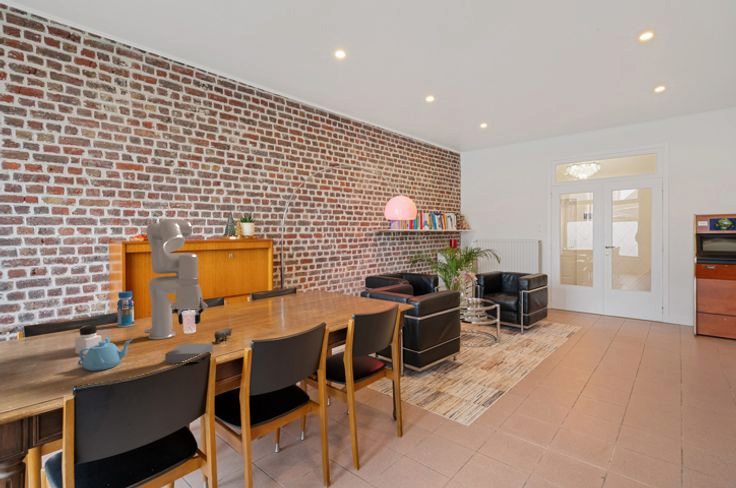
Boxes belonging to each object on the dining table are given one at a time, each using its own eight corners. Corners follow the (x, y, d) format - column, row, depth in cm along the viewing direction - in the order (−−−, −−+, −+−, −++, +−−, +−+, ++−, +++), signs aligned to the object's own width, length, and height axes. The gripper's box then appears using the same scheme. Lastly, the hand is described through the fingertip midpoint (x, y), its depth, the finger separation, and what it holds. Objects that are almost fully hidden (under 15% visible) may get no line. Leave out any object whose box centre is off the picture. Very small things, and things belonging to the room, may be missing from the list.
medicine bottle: (102, 350, 169) (101, 325, 169) (86, 355, 162) (85, 328, 162) (91, 349, 171) (90, 323, 171) (75, 353, 165) (74, 327, 164)
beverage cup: (178, 333, 157) (177, 300, 157) (190, 329, 163) (189, 298, 162) (189, 334, 155) (188, 301, 154) (200, 331, 160) (200, 299, 160)
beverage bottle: (113, 327, 212) (112, 293, 211) (125, 323, 220) (124, 290, 220) (126, 327, 211) (125, 293, 210) (137, 324, 219) (137, 291, 218)
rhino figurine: (235, 336, 191) (235, 325, 191) (219, 344, 178) (219, 332, 178) (229, 336, 192) (228, 324, 192) (212, 343, 179) (211, 331, 179)
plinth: (165, 363, 152) (165, 353, 152) (181, 352, 166) (181, 343, 166) (199, 362, 152) (199, 353, 152) (212, 352, 166) (212, 343, 166)
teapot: (72, 370, 145) (71, 344, 145) (110, 357, 159) (110, 334, 159) (95, 375, 140) (94, 348, 139) (133, 362, 154) (132, 338, 153)
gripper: (164, 283, 154) (164, 326, 155) (205, 283, 155) (206, 325, 155) (173, 281, 162) (173, 321, 162) (212, 281, 162) (213, 321, 163)
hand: (189, 323), depth 159 cm, fingers closed on beverage cup, 6 cm apart
